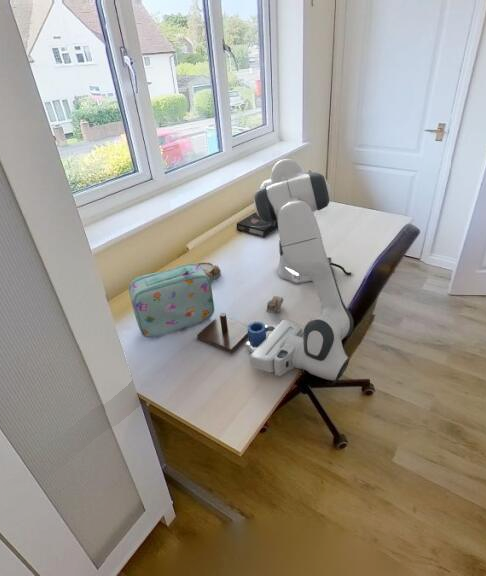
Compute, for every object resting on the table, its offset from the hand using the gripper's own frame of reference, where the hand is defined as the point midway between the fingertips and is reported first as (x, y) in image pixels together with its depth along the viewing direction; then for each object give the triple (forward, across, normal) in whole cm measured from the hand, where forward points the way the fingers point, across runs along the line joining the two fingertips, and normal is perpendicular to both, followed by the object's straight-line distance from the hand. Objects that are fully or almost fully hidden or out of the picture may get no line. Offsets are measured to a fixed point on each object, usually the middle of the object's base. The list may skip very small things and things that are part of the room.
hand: (254, 335), depth 122 cm
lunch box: (+30, +2, +6) cm, 31 cm away
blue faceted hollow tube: (-1, 0, +5) cm, 5 cm away
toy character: (+5, -20, +6) cm, 21 cm away
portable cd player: (+48, -75, +6) cm, 89 cm away
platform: (+12, 0, +5) cm, 13 cm away
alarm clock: (+42, -25, +6) cm, 49 cm away
